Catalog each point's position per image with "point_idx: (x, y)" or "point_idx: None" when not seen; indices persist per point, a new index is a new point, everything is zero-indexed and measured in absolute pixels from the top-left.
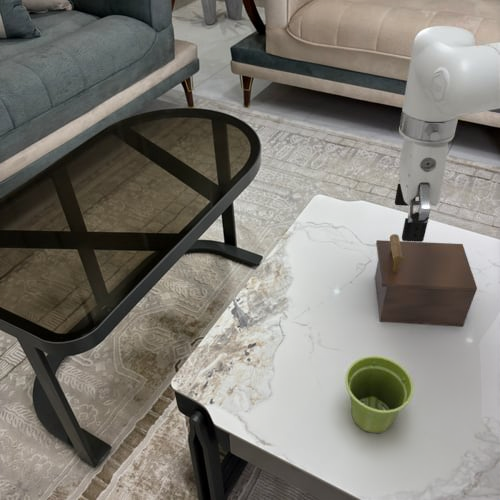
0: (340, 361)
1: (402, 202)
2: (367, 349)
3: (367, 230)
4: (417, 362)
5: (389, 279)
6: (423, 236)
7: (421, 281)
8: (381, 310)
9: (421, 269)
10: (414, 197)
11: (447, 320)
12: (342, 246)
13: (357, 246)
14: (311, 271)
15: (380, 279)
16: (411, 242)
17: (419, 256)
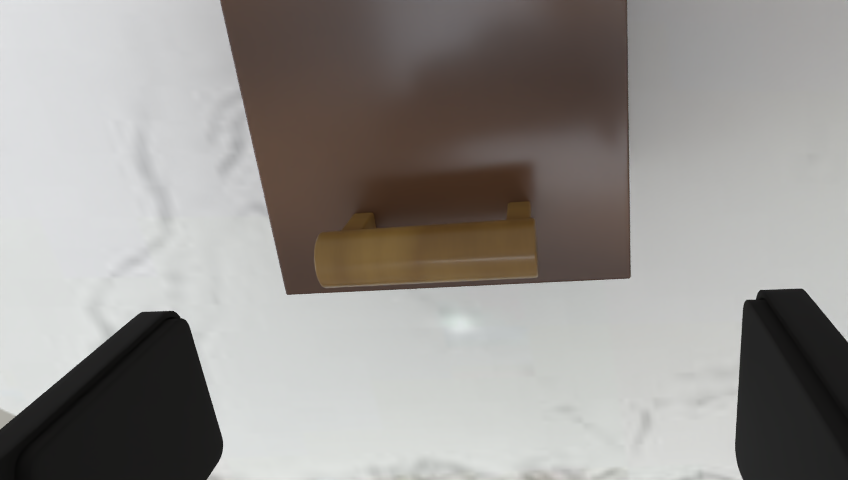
0: (817, 305)
1: (195, 426)
2: (754, 214)
3: (78, 218)
4: (821, 16)
5: (594, 241)
6: (825, 323)
7: (591, 67)
8: None
9: (483, 64)
10: (130, 374)
11: None
12: (207, 309)
13: (188, 255)
14: (374, 406)
15: None
16: (253, 115)
17: (367, 72)
